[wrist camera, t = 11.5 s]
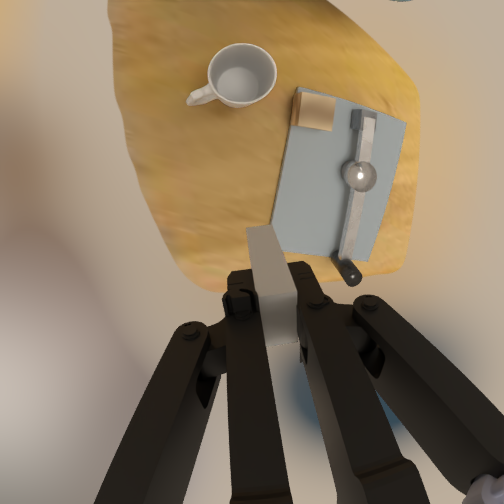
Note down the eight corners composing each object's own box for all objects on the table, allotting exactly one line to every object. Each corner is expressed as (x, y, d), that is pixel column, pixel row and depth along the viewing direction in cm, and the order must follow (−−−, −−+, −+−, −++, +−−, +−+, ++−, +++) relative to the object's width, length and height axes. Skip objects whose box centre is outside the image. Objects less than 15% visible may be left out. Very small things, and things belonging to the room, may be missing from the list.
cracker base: (296, 87, 34) (302, 85, 32) (402, 122, 37) (412, 123, 34) (265, 246, 45) (267, 254, 42) (365, 258, 48) (372, 266, 45)
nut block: (293, 94, 34) (302, 91, 30) (324, 100, 34) (336, 98, 30) (290, 125, 36) (298, 125, 32) (320, 130, 36) (331, 131, 32)
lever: (346, 108, 35) (370, 107, 28) (372, 114, 35) (399, 115, 28) (323, 262, 45) (338, 286, 39) (347, 262, 46) (364, 286, 39)
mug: (251, 58, 32) (260, 34, 21) (269, 99, 35) (287, 90, 24) (184, 86, 33) (166, 72, 22) (203, 126, 36) (193, 128, 25)
